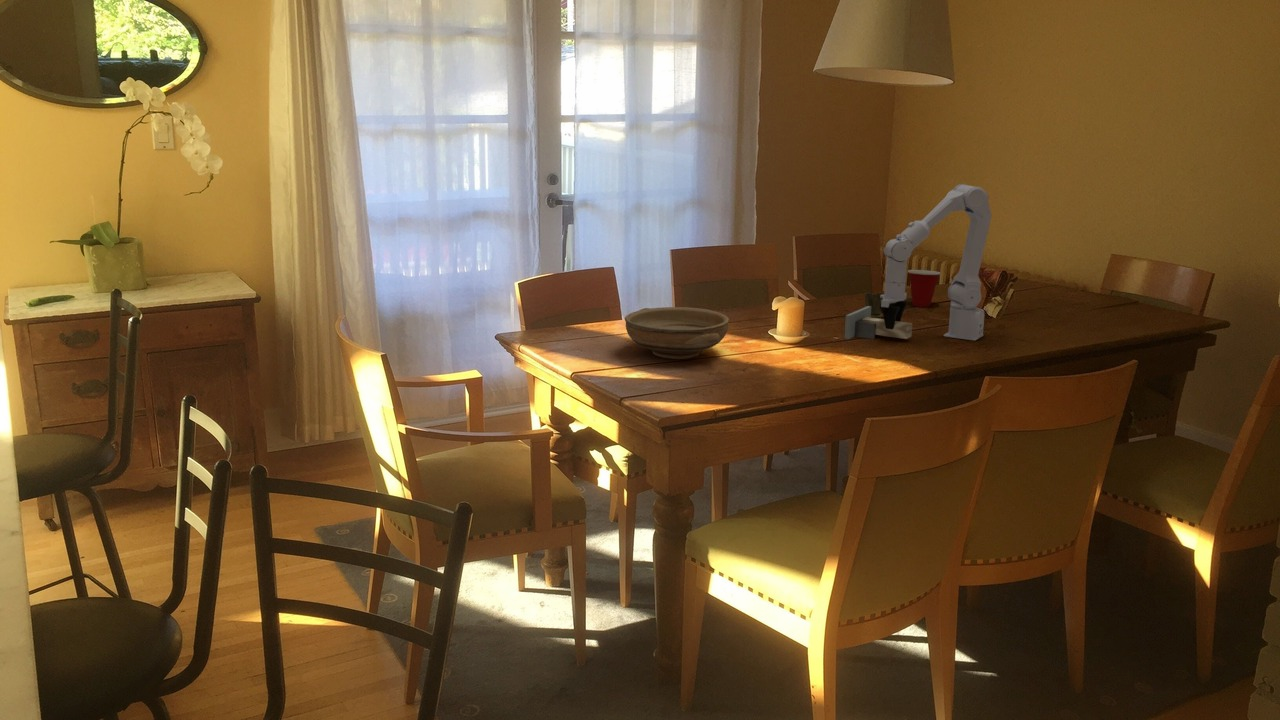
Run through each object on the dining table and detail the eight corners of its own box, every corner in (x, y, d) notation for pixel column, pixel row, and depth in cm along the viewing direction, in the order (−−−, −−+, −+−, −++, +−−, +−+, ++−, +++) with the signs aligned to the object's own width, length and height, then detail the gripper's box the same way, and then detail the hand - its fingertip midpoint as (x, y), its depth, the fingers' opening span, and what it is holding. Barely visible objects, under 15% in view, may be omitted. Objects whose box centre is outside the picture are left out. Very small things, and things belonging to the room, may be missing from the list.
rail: (911, 336, 294) (912, 323, 293) (907, 338, 291) (908, 325, 290) (866, 330, 302) (866, 317, 301) (861, 332, 299) (862, 319, 298)
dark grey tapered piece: (885, 316, 325) (887, 291, 323) (888, 321, 318) (890, 296, 316) (861, 315, 326) (863, 291, 324) (864, 320, 319) (866, 295, 317)
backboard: (869, 329, 308) (871, 306, 306) (848, 339, 295) (849, 315, 293) (866, 328, 308) (867, 306, 307) (844, 338, 296) (845, 315, 294)
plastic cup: (942, 304, 343) (945, 269, 340) (932, 310, 334) (935, 274, 331) (910, 301, 349) (913, 266, 346) (900, 306, 340) (903, 271, 337)
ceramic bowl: (600, 344, 289) (599, 310, 287) (686, 333, 302) (686, 300, 300) (664, 375, 258) (664, 337, 255) (757, 362, 271) (758, 325, 268)
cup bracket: (883, 334, 301) (884, 319, 300) (873, 339, 295) (874, 324, 294) (864, 331, 304) (865, 317, 303) (854, 336, 299) (855, 321, 297)
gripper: (891, 276, 299) (888, 321, 303) (872, 283, 288) (869, 330, 291) (914, 278, 296) (911, 324, 299) (896, 286, 284) (892, 333, 288)
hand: (892, 327), depth 295 cm, fingers closed on rail, 4 cm apart
